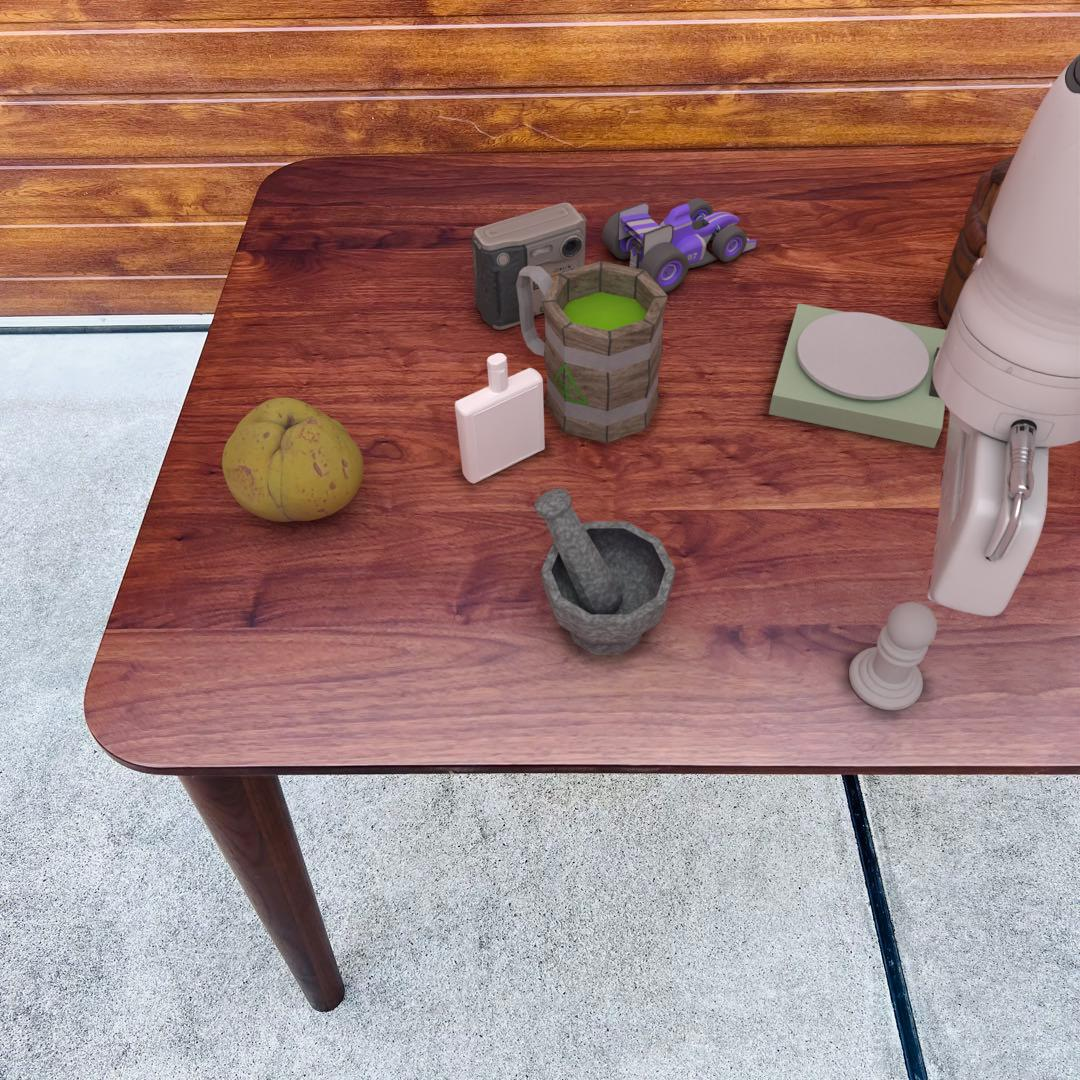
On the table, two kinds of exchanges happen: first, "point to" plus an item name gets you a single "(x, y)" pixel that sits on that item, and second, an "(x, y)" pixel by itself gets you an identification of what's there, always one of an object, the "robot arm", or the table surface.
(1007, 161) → the wooden figurine
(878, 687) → the chess piece
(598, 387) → the mug
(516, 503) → the table surface
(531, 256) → the camera
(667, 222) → the toy race car
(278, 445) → the fruit
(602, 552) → the mortar and pestle
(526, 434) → the perfume bottle
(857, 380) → the scale
